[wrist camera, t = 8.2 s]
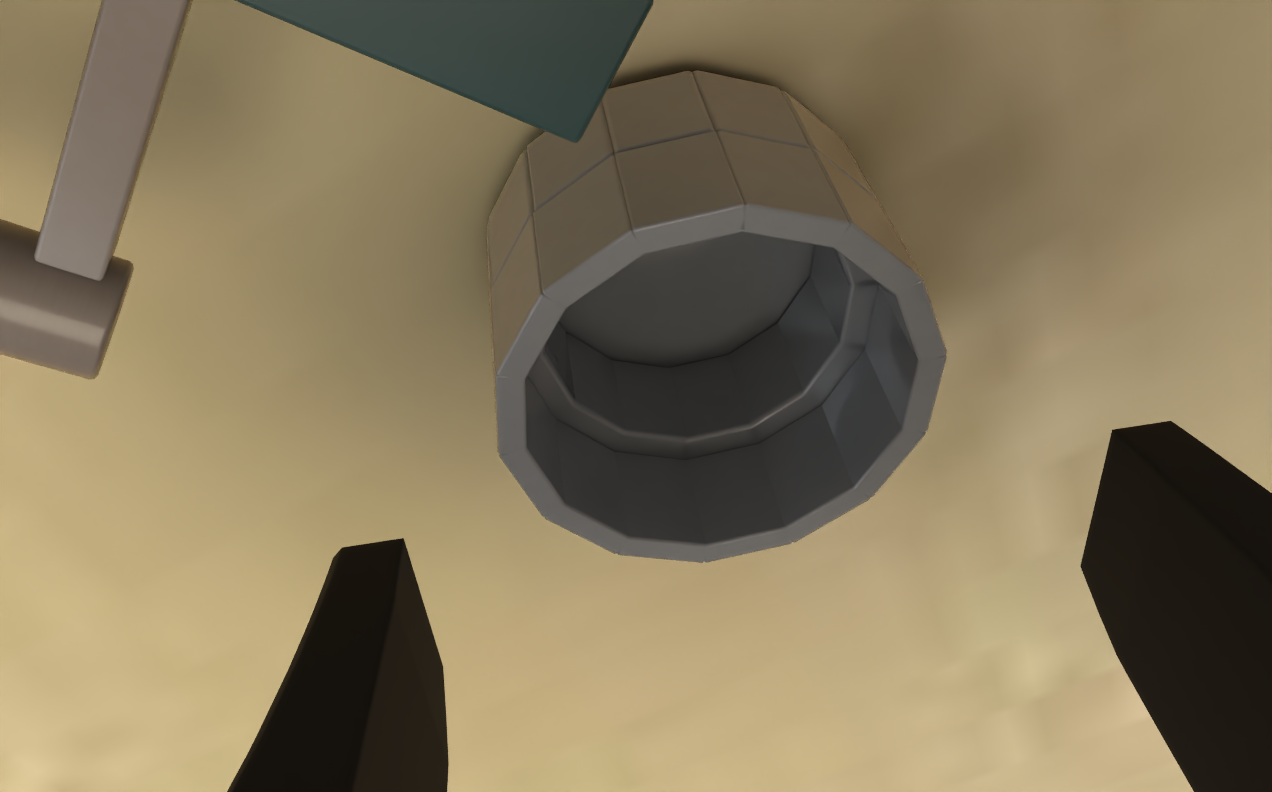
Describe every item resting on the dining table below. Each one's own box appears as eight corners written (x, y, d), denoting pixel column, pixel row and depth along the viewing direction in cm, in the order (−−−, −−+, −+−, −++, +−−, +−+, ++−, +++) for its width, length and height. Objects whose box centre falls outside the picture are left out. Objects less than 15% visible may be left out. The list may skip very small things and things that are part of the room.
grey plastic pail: (931, 149, 16) (1036, 304, 14) (733, 424, 19) (784, 602, 16) (594, -14, 14) (632, 129, 12) (426, 319, 17) (423, 502, 14)
